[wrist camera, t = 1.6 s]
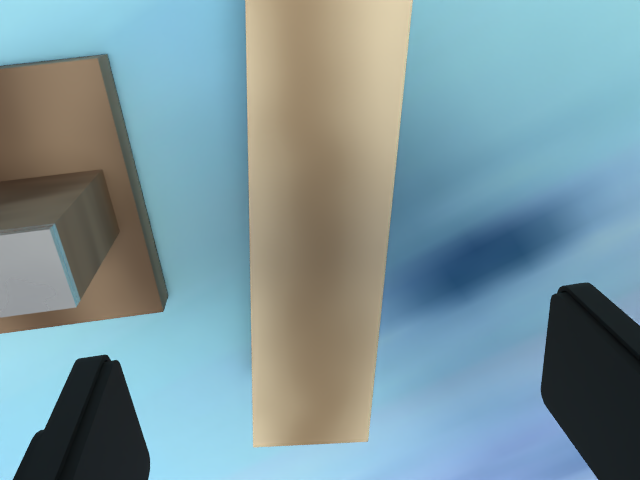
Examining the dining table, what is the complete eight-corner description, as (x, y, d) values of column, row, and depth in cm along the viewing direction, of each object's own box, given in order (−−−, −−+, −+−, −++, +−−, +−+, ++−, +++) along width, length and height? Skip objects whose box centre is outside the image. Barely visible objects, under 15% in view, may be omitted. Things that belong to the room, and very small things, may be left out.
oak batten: (385, -127, 21) (429, -167, 16) (349, 363, 31) (368, 441, 26) (246, -137, 21) (242, -181, 15) (254, 366, 31) (253, 447, 25)
